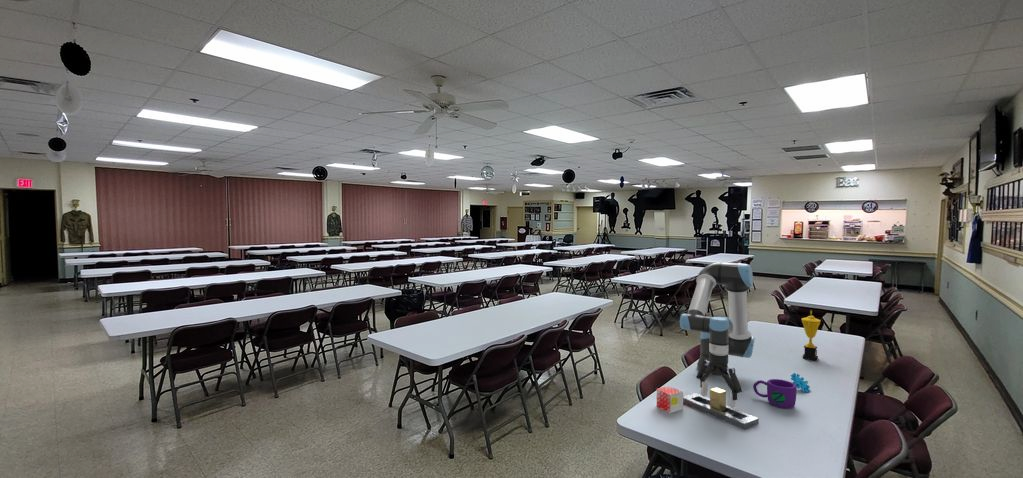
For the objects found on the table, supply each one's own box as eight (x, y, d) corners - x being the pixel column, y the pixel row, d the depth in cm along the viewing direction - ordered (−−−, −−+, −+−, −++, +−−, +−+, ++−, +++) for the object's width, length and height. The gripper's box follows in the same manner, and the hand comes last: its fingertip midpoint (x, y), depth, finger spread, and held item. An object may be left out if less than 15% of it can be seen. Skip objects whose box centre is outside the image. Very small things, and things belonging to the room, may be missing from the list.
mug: (798, 404, 192) (799, 383, 192) (793, 412, 184) (793, 390, 184) (756, 394, 204) (756, 373, 204) (749, 400, 196) (749, 379, 196)
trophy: (818, 364, 248) (819, 313, 247) (798, 360, 255) (799, 311, 254) (821, 356, 263) (822, 308, 262) (802, 353, 269) (803, 306, 268)
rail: (681, 402, 195) (681, 397, 195) (695, 398, 199) (695, 393, 199) (744, 429, 169) (744, 423, 168) (758, 424, 173) (758, 418, 173)
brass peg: (709, 411, 185) (710, 389, 185) (716, 409, 187) (716, 387, 187) (719, 415, 181) (719, 392, 181) (725, 413, 183) (726, 390, 183)
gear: (801, 391, 203) (788, 372, 210) (792, 397, 207) (779, 377, 213) (816, 391, 207) (803, 372, 214) (806, 396, 211) (794, 377, 218)
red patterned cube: (670, 412, 184) (670, 395, 184) (656, 406, 191) (656, 388, 191) (683, 409, 188) (683, 391, 188) (669, 402, 195) (669, 385, 195)
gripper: (688, 347, 192) (688, 392, 193) (740, 362, 170) (740, 414, 171) (699, 344, 196) (698, 389, 197) (751, 359, 174) (751, 410, 175)
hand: (718, 401), depth 184 cm, fingers open, 13 cm apart
